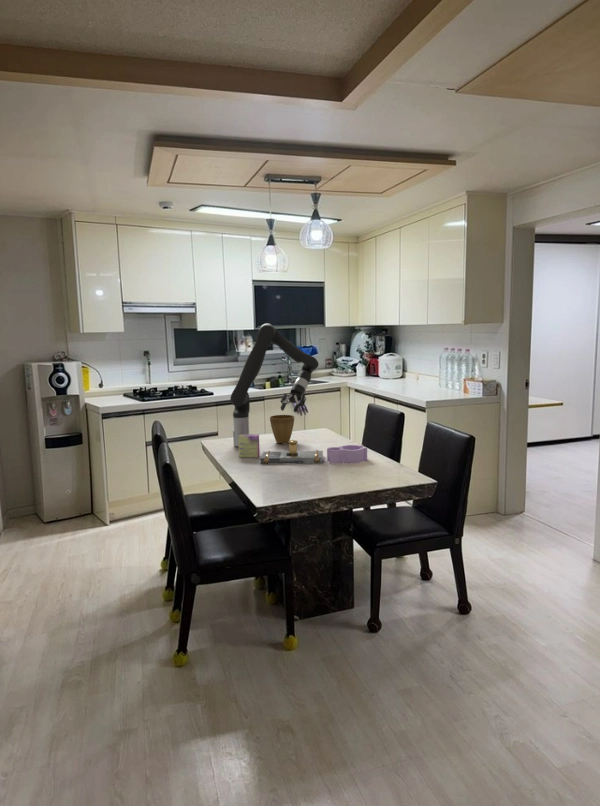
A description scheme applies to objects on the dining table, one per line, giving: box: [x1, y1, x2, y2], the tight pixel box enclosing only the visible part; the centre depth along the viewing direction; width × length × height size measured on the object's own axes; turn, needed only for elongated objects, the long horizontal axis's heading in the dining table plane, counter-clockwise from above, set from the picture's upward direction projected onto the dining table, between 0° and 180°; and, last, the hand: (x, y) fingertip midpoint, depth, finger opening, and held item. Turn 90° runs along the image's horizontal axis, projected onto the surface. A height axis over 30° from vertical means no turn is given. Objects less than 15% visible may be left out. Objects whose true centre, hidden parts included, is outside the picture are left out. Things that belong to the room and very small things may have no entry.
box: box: [238, 433, 261, 458], centre depth 282 cm, size 10×6×12 cm, turn 84°
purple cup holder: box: [326, 444, 368, 464], centre depth 268 cm, size 20×12×7 cm, turn 102°
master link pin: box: [287, 439, 298, 456], centre depth 272 cm, size 5×5×10 cm
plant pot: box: [269, 414, 295, 444], centre depth 311 cm, size 15×15×16 cm
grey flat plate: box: [260, 449, 324, 465], centre depth 272 cm, size 32×15×3 cm, turn 88°
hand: (288, 410), depth 284 cm, fingers open, 8 cm apart
